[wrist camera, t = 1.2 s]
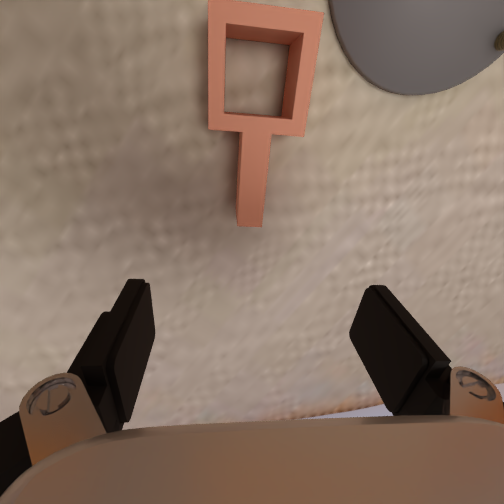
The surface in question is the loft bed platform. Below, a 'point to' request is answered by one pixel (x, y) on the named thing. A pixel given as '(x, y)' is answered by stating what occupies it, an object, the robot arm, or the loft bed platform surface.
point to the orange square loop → (295, 94)
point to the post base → (418, 41)
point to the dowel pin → (499, 42)
